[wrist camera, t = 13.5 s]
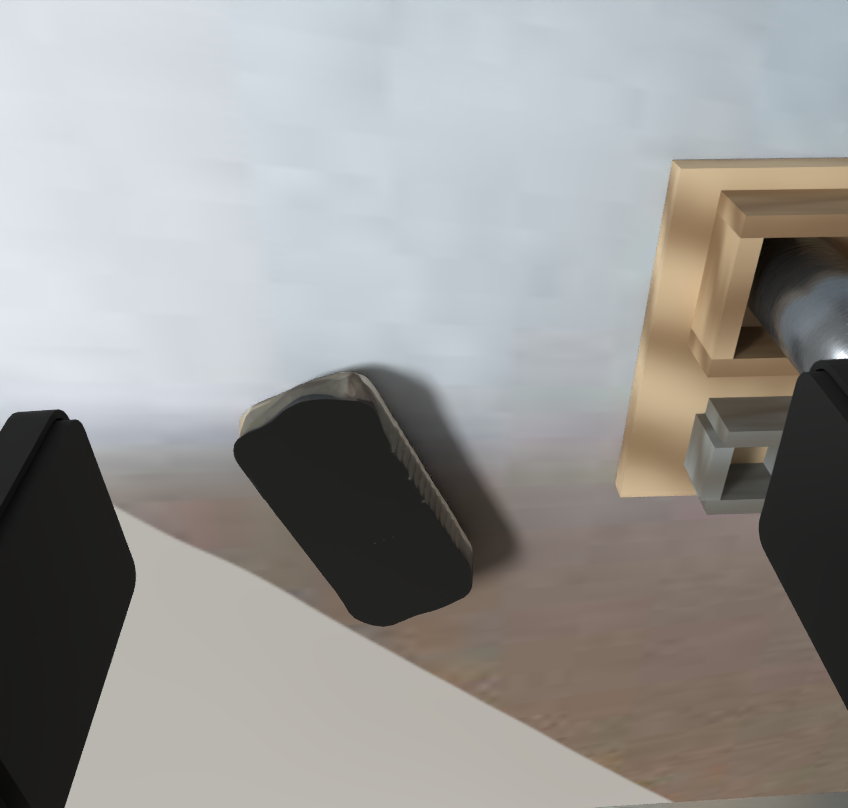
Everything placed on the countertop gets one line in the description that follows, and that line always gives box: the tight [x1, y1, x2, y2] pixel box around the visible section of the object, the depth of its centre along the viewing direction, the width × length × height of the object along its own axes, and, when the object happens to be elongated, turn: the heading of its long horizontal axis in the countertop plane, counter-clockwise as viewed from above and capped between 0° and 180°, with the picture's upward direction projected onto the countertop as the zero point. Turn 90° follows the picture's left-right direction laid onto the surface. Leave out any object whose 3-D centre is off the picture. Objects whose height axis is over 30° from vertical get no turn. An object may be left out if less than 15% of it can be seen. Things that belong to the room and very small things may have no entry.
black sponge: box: [233, 372, 473, 627], centre depth 45 cm, size 16×8×4 cm, turn 25°
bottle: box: [747, 237, 848, 374], centre depth 34 cm, size 4×4×12 cm
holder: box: [615, 158, 848, 515], centre depth 41 cm, size 19×12×4 cm, turn 0°
